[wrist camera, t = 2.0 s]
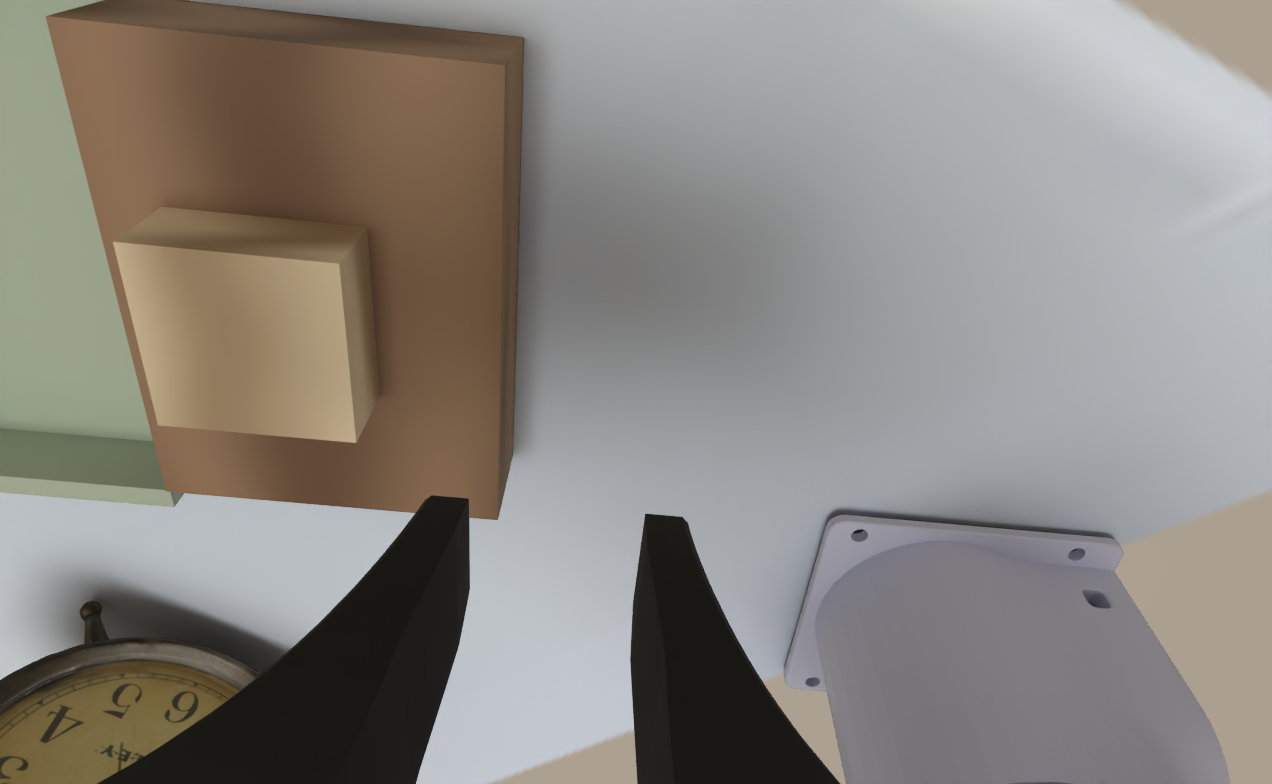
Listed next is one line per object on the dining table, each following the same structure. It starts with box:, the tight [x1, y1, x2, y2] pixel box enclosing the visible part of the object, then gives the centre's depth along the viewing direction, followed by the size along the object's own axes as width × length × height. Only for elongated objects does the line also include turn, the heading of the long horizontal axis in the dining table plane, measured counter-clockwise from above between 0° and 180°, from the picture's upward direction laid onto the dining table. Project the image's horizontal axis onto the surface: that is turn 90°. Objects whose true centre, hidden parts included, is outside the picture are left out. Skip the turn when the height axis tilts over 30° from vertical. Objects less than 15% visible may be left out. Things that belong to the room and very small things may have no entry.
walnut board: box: [46, 0, 524, 520], centre depth 21 cm, size 9×12×3 cm
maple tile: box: [113, 207, 380, 443], centre depth 19 cm, size 4×4×2 cm
